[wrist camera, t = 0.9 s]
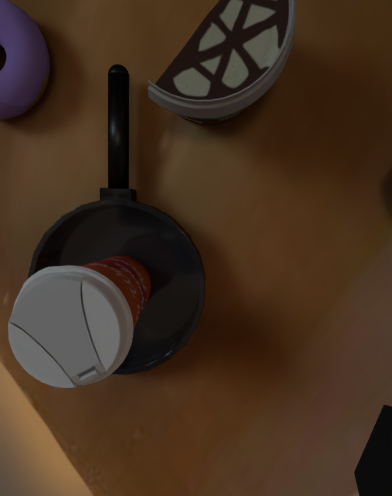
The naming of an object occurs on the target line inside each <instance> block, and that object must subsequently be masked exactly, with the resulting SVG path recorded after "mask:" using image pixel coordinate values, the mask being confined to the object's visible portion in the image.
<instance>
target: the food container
mask: <svg viewBox="0 0 392 496" xmlns="http://www.w3.org/2000/svg"><path fill="white" fill-rule="evenodd" d="M295 14H296V3H295V0H220V1H219V2H218V3H217V4H216V6H215V7H214V8H213V9H212V10H211V11H210V13H209V14H208V15H207V16H206V17H205V19H204V20H203V22H202V23H201V24H200V26H199V27H198V28H197V30H196V31H195V33H194V34H193V35H192V37H191V38H190V39H189V41H188V42H187V43H186V45H185V46H184V48H183V49H182V50H181V52H180V53H179V54H178V55H177V57H176V58H175V59H174V60H173V62H172V63H171V64H170V65H169V67H168V68H167V69H166V71H165V72H164V73H163V74H162V76H161V77H160V78H159V80H158V81H157V82H156V83H155V84H153V83H152V82H150V81H148V82H149V85H150V86H149V87H148V97H149V98H150V99H151V100H152V101H154V102H155V103H156V104H158V105H159V106H161V107H163V108H165V109H167V110H169V111H171V112H174V113H177V114H178V115H180V116H181V117H183V118H184V119H186V120H189V121H192V122H195V123H197V124H206V125H217V124H220V123H223V122H227V121H230V120H232V119H234V118H235V117H237V116H238V115H240V114H241V113H242V112H243V111H244V110H245V109H246V108H247V107H248V106H249V105H251V104H252V103H253V102H255V101H256V100H257V99H259V98H260V97H261V96H263V95H264V94H265V92H266V91H267V90H268V89H269V88H270V87H271V86H272V85H273V84H274V82H275V81H276V80H277V78H278V77H279V75H280V74H281V72H282V70H283V68H284V66H285V64H286V62H287V60H288V57H289V54H290V51H291V48H292V45H293V39H294V33H295Z"/></svg>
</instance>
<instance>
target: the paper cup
mask: <svg viewBox="0 0 392 496" xmlns="http://www.w3.org/2000/svg"><path fill="white" fill-rule="evenodd" d="M150 291H151V279H150V275H149V273H148V271H147V269H146V268H145V267H144V265H143V264H142V263H140V262H139V261H138V260H136V259H134V258H131V257H127V256H116V257H111V258H106V259H102V260H99V261H95V262H91V263H87V264H84V265H80V266H71V265H66V266H54V267H47V268H44V269H42V270H40V271H38V272H37V273H35V274H34V275H32V276H31V277H30V278H29V279H28V280H27V281H26V282H25V283H24V285H23V287H22V289H21V291H20V293H19V295H18V297H17V299H16V301H15V304H14V307H13V311H12V314H11V317H10V320H9V323H8V336H9V342H10V346H11V349H12V351H13V353H14V355H15V357H16V359H17V361H18V362H19V363H20V365H21V366H22V367H23V368H24V369H25V370H26V371H27V372H28V373H29V374H30V375H31V376H33V377H34V378H36V379H37V380H39V381H41V382H43V383H45V384H48V385H51V386H55V387H61V388H74V387H78V386H80V385H88V384H92V383H95V382H98V381H100V380H102V379H104V378H106V377H107V376H109V375H111V374H112V373H113V372H114V371H115V370H116V369H117V368H118V367H119V366H120V365H121V364H122V362H123V361H124V359H125V358H126V356H127V354H128V352H129V349H130V347H131V344H132V339H133V330H134V328H135V326H136V324H137V322H138V320H139V318H140V315H141V313H142V311H143V309H144V307H145V305H146V302H147V300H148V298H149V295H150Z"/></svg>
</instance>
